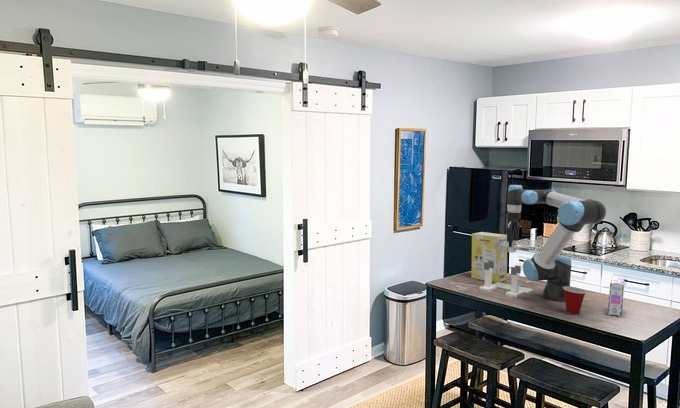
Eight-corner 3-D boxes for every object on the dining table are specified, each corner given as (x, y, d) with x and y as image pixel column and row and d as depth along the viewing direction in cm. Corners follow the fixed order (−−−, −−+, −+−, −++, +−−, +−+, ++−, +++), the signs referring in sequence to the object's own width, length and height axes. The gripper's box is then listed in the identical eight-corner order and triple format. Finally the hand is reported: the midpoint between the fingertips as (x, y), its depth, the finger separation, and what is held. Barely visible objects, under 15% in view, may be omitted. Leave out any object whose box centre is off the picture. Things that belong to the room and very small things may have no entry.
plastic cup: (589, 315, 244) (591, 291, 243) (567, 315, 244) (568, 291, 243) (579, 308, 255) (580, 285, 253) (557, 308, 255) (559, 285, 254)
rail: (530, 250, 284) (530, 245, 284) (528, 251, 282) (528, 246, 282) (497, 245, 298) (497, 240, 297) (494, 246, 296) (494, 241, 295)
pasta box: (506, 280, 308) (507, 234, 305) (497, 282, 301) (498, 236, 299) (481, 275, 321) (481, 232, 319) (471, 277, 315) (472, 233, 312)
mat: (534, 290, 288) (534, 289, 288) (526, 293, 281) (526, 292, 281) (498, 283, 303) (498, 282, 303) (490, 286, 296) (490, 285, 296)
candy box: (621, 317, 243) (623, 284, 241) (607, 315, 246) (609, 282, 244) (622, 309, 254) (625, 278, 252) (609, 307, 257) (611, 276, 256)
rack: (523, 294, 280) (525, 266, 278) (515, 297, 273) (517, 269, 271) (487, 286, 295) (488, 259, 293) (478, 289, 288) (480, 262, 286)
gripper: (513, 210, 296) (511, 249, 299) (501, 212, 284) (499, 252, 287) (526, 211, 291) (523, 251, 294) (514, 213, 279) (512, 254, 282)
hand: (511, 251), depth 290 cm, fingers closed on rail, 3 cm apart
